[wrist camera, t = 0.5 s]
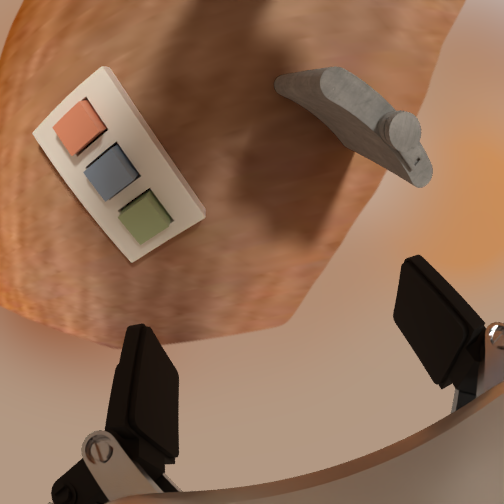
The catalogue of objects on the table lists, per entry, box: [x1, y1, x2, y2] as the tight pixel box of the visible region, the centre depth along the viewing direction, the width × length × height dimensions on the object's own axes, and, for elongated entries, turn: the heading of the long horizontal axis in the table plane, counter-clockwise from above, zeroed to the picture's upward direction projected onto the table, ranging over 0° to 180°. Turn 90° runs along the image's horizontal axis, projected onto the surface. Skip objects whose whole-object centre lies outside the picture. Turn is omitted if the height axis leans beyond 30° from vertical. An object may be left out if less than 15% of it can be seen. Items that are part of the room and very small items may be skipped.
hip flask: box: [274, 67, 433, 188], centre depth 28 cm, size 16×4×20 cm, turn 55°
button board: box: [33, 66, 206, 263], centre depth 35 cm, size 26×14×3 cm, turn 28°
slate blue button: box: [83, 144, 139, 202], centre depth 34 cm, size 5×5×3 cm
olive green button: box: [118, 189, 171, 245], centre depth 38 cm, size 5×5×3 cm
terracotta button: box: [52, 100, 107, 156], centre depth 29 cm, size 5×5×3 cm
